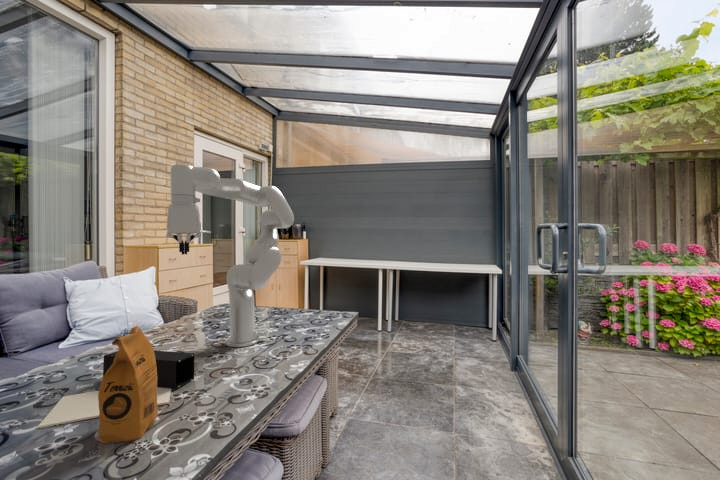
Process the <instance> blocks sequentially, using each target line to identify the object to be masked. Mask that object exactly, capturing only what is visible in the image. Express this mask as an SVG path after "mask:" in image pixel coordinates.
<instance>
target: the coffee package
mask: <svg viewBox="0 0 720 480" xmlns="http://www.w3.org/2000/svg"><path fill="white" fill-rule="evenodd" d="M111 344H112V346H117V347H118V350H117V351H118V352H117V351H116V352H117V353H116V356H115V358H114V361H113V364H112V365H111V366H110V368H109V369H108V370H107V372H106V374H105V375H104V377H103V376H102V378H101V382H100V385H99V389H98V391H99V393H98V401H99V417H98V421H99V423H98V439H99V440H100V441H101V443H102V444H109V443H121V442H131V441H136V440H139V439H141V438H142V437H143V435H144V434H145V433H146V431H147V429H148V428H149V427H152V426H153V425H154V424H155V423H156V419H157V417H158V414H159V411H158V406H157V380H158V377H157V367H156V359H155V353H154V351H155V350H154V348H153V346H152V344H151V341H149V340H148V338H147V336H146V335H145V333H144V332H143V331H142V329H141V327H140V326H139V325H136V326H134V327H132V328H131V329H130V331H129V334H126V335H124V336H123V335H122V336H120V337H116V338H115V339H114V340H113V341H112V342H111Z"/></svg>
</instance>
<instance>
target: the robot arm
mask: <svg viewBox="0 0 720 480" xmlns="http://www.w3.org/2000/svg"><path fill="white" fill-rule="evenodd" d="M196 192H198V193H199V194H200V193H201V194H203V195H208V196H213V197H217V198H223V199H227V200H234V201H238V202H241V203H244V204H248V205H250V206H253V207H259V208H267V207H271V209H266V210H264V211H262V213H261V215H260V217H259V222H260V227H261V228H260V230H261V232H260V235H259V237H258V238H257V239H256V241H255V242H254V243H253V244H252V245H251V246H250V248H249V249H248V250H247V252H246V253H245V255H244V260H245V263H246V264H243V263H241V264H239V263H238V264H235V265H232V266H231V267H230V268H229V269H228V271H227V272H226V284H227V288H228V297H229V301H228V302H229V304H228V305H229V337H228V338H227V339H226V340H225V346H227V347H230V348H243V347H249V346H253V345H255V344H257V343H259V341H260V340H259V339H260V338H259V337H265V336H267V332H268V331H267V330H262V329H261V330H256V328H255V323H256V322H255V295H254V291H257V290H260V289H262V288H264V287H265V286H266V285H267V283H268V282H269V281H270V280H271V278H272V277H273V275H274V273H275V272H276V270H277V269H278V268H279V267H280V265H281V261H282V252H281V250H280V249H279V248H278V245H279V242H280V241H279V240H280V238H279V233H278V229H288V228H291V226H293V224H294V222H295V215H294V212H293V211H292V209H291V206H290V205H289V204H288V202H287V199H286V197H284V195H283V194H284V193H282V192H281V190H280V189H279V188H278V187H276V186H275V185H267V186H260V185H256V184H254V183H251V182H249V181H246V180H243V179H242V178H241V179H240V178H225V177H224V178H222V177H221V176H220V174H219V172H218V171H217V170H216V169H214V168H212V167H207V166H192V165H189V164H183V163H182V164H181V163H180V164H177V163H176V164H172V165H171V167H170V204H169V205H168V208H167V218H166V230H167V231H166V237H167V238H170V239H174V240H175V241H177V242H178V245H179V247H178V249H179V253H181V255H182V256H183V255H188V253H189V252H190V242H191V241H192V240H193V239H197V238H201V237H202V233H201V217H200V216H201V215H200V209H199V206H198V205H196V204H197V203H201V198H199V197H196ZM183 234H184V235H186V239H185V241H184V240H183V237H182V235H183Z"/></svg>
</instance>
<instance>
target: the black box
mask: <svg viewBox="0 0 720 480" xmlns="http://www.w3.org/2000/svg"><path fill="white" fill-rule="evenodd" d="M117 352H118V350H116V351H115V352H114V351H113V352H111V353H107V354H104V355H103V364H102V366H103V367H102V368H103V369H102V378H103V377H104V375H105V374H106V372H107V370H108V369H109V368H110V366H111V365H112V364H113V361H114V358H115V356H116V353H117ZM154 353H155V359H156V367H157V377H158V380H157V387H160V388H171V390H172V389H173V390H177V389H178V388H181V387H182V386H185V385H186V384H188V383H190V382H191V381H193V380H195V356H196V354H195V352H182V351H165V350H154Z"/></svg>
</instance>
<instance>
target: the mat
mask: <svg viewBox="0 0 720 480" xmlns="http://www.w3.org/2000/svg"><path fill="white" fill-rule="evenodd" d="M98 393H99V390H94V391H87V392H82V393H76V394H69V395H63V396H62V397H61V398H60V399H59V401H58V402H57V403H56V404H55V405H54V406H53V408H52V409H51V410H50V411H49V413H47V415H46V416H45V417H44V418H43V419H42V421H41V422H40V423H39V424H38V425H37V430H40V429H44V428H49V427H55V426H54V425H56V426H60V425H59V424H61V425H66V424H70V423H76V422H81V421H86V420H91V419H97V418H99V401H98ZM171 394H172V389H171V388H160V387H157V407H159V406H165V405H169V404H170V399H171ZM39 428H40V429H39Z"/></svg>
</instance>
